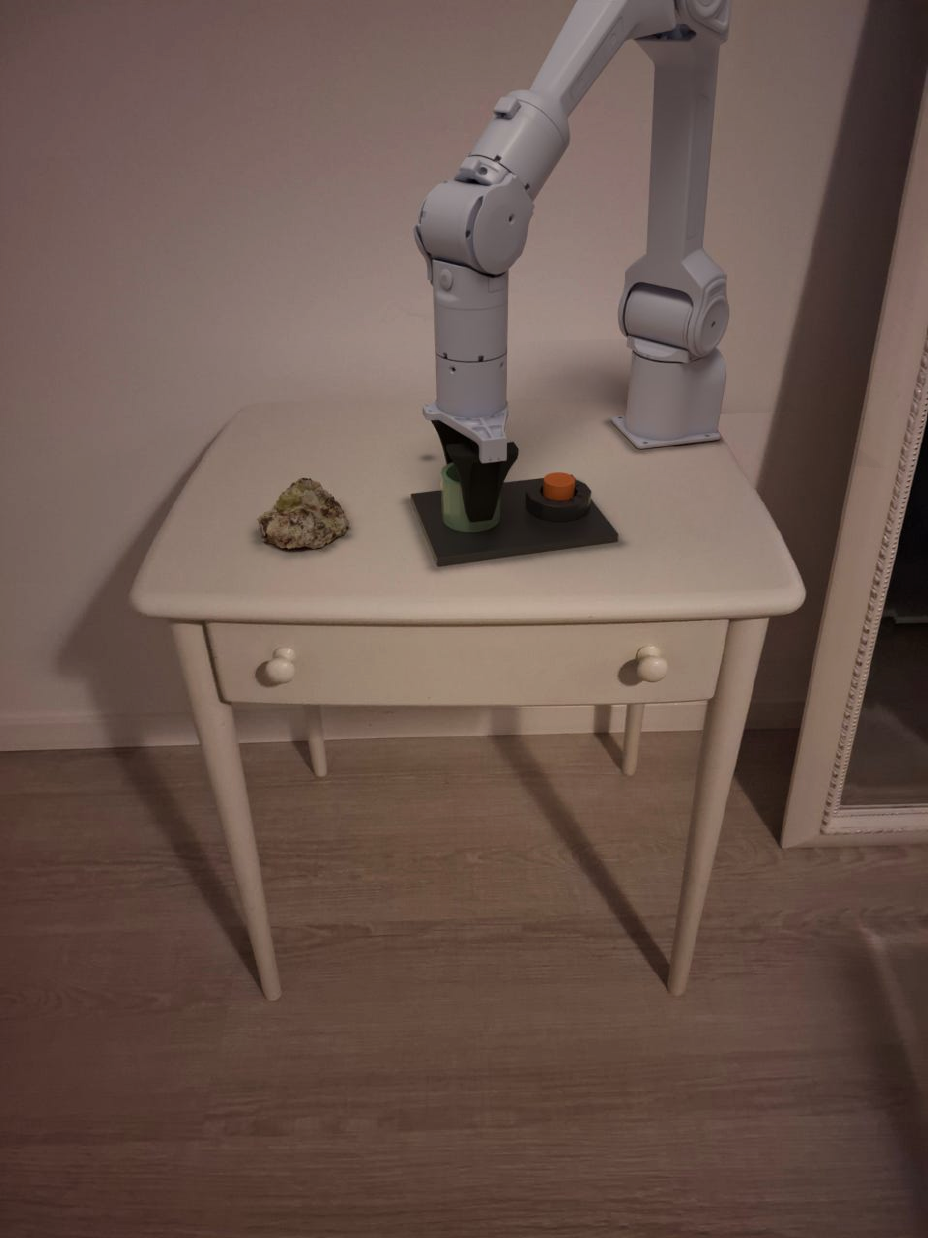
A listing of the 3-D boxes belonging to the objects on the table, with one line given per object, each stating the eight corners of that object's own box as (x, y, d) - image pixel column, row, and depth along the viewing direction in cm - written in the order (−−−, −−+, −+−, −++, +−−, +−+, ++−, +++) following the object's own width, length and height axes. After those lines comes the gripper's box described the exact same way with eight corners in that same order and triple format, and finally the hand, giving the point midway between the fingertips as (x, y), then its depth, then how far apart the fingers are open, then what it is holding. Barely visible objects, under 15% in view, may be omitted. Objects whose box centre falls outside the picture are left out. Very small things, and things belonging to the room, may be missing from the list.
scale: (571, 482, 85) (573, 458, 83) (617, 542, 75) (620, 517, 74) (410, 502, 82) (409, 477, 80) (437, 567, 72) (436, 541, 71)
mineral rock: (347, 531, 73) (251, 509, 71) (338, 574, 75) (244, 554, 74) (359, 477, 82) (273, 457, 80) (350, 517, 84) (267, 498, 83)
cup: (491, 501, 80) (492, 456, 77) (507, 528, 76) (508, 481, 73) (436, 508, 79) (435, 462, 76) (449, 535, 75) (448, 488, 72)
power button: (568, 485, 79) (569, 470, 78) (578, 499, 77) (579, 483, 76) (538, 489, 79) (539, 473, 78) (548, 503, 77) (549, 487, 76)
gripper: (404, 327, 74) (412, 473, 81) (441, 387, 62) (445, 550, 70) (485, 320, 75) (484, 465, 83) (535, 378, 63) (529, 539, 71)
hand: (472, 503), depth 76 cm, fingers closed on cup, 5 cm apart
